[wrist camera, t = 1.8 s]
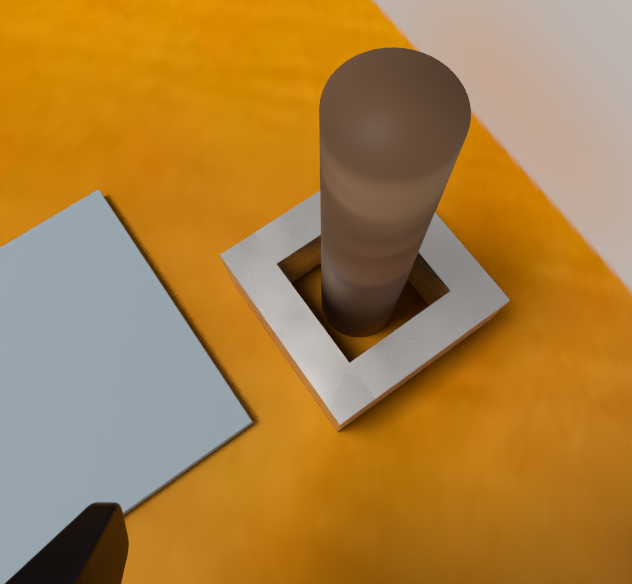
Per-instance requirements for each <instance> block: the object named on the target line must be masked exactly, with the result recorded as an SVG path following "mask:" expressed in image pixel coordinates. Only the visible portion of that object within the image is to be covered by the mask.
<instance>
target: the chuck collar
mask: <svg viewBox="0 0 632 584" xmlns="http://www.w3.org/2000/svg"><path fill="white" fill-rule="evenodd" d="M220 256H221V258H222V261H223V263H224V265H225V267H226V269H227V272H228V274H229V276H230V278H231V280H232V282H233V284H234V285H235V286H236V288H237V289H238V291H239V292H240V294H241V295H242V296H243V298H244V299H245V301H246V302H247V303H248V305H249V306H250V308H251V309H252V311H253V312H254V313H255V315H256V316H257V318H258V319H259V321H260V322H261V323H262V325H263V326H264V328H265V329H266V330H267V332H268V333H269V335H270V336H271V338H272V339H273V340H274V342H275V343H276V345H277V346H278V348H279V349H280V350H281V352H282V353H283V355H284V356H285V358H286V359H287V360H288V362H289V363H290V365H291V366H292V367H293V369H294V370H295V372H296V373H297V375H298V376H299V377H300V379H301V380H302V382H303V383H304V385H305V386H306V387H307V389H308V390H309V392H310V393H311V394H312V396H313V397H314V399H315V400H316V402H317V403H318V404H319V406H320V407H321V409H322V410H323V412H324V413H325V414H326V416H327V417H328V419H329V420H330V422H331V423H332V424H333V426H334V427H335V429H336V430H337V431H338V432H339V431H340V430H341V429H343V428H344V427H345V426H347V425H348V424H349V423H351V422H352V421H353V420H355V419H356V418H358V417H359V416H360V415H362V414H363V413H364V412H366V411H367V410H368V409H370V408H371V407H373V406H374V405H375V404H377V403H378V402H379V401H381V400H382V399H383V398H385V397H386V396H388V395H389V394H390V393H392V392H393V391H394V390H396V389H397V388H398V387H400V386H401V385H403V384H404V383H405V382H407V381H408V380H409V379H411V378H412V377H413V376H415V375H416V374H418V373H419V372H420V371H422V370H423V369H424V368H426V367H427V366H428V365H430V364H431V363H433V362H434V361H435V360H437V359H438V358H439V357H441V356H442V355H443V354H445V353H446V352H448V351H449V350H450V349H452V348H453V347H454V346H456V345H457V344H458V343H460V342H461V341H463V340H464V339H465V338H467V337H468V336H469V335H471V334H472V333H473V332H475V331H476V330H478V329H479V328H480V327H482V326H483V325H484V324H486V323H487V322H488V321H489V320H490V319H491V318H492V317H493V316H494V315H495V314H497V313H498V312H499V311H500V310H501V309H502V308H503V307H504V306H505V305H506V304H507V303H508V302H509V301H510V299H509V298H508V297H507V296H506V295H505V294H504V292H503V291H502V290H501V289H500V288H499V286H498V285H497V284H496V283H495V282H494V281H493V279H492V278H491V277H490V276H489V275H488V274H487V272H486V271H485V270H484V269H483V268H482V267H481V265H480V264H479V263H478V262H477V261H476V260H475V258H474V257H473V256H472V255H471V254H470V253H469V251H468V250H467V249H466V248H465V247H464V246H463V244H462V243H461V242H460V241H459V240H458V239H457V237H456V236H455V235H454V234H453V233H452V232H451V230H450V229H449V228H448V227H447V226H446V225H445V223H444V222H443V221H442V220H441V219H440V218H439V216H438V215H437V214H436V213H434V216H433V218H432V220H431V223H430V225H429V228H428V230H427V232H426V235H425V237H424V240H423V242H422V245H421V247H420V249H419V252H418V254H417V257H416V259H415V261H414V264H413V266H412V269H411V271H410V274H409V276H408V278H407V279H408V280H409V282H410V283H411V284H412V285H413V287H414V288H415V289H416V290H417V292H418V293H419V294H420V295H421V297H422V298H423V299H424V300H425V302H426V303H427V304H428V305H429V307H427V308H426V309H425V310H423V311H422V312H420V313H419V314H418V315H416V316H415V317H413V318H412V319H411V320H409V321H408V322H406V323H405V324H404V325H402V326H401V327H399V328H398V329H396V330H395V331H394V332H392V333H391V334H389V335H388V336H387V337H385V338H384V339H382V340H381V341H380V342H378V343H377V344H375V345H374V346H373V347H371V348H370V349H368V350H367V351H366V352H364V353H363V354H361V355H360V356H359V357H357V358H356V359H354V360H353V361H352V362H350V363H349V362H348V360H347V359H346V358H345V356H344V355H343V353H342V352H341V351H340V349H339V348H338V347H337V345H336V344H335V343H334V341H333V340H332V338H331V337H330V336H329V334H328V333H327V332H326V330H325V329H324V328H323V326H322V325H321V324H320V322H319V321H318V319H317V318H316V317H315V315H314V314H313V313H312V311H311V310H310V309H309V307H308V306H307V305H306V303H305V302H304V300H303V299H302V298H301V296H300V295H299V294H298V292H297V291H296V290H295V288H294V287H293V286H292V284H291V283H293V282H294V281H296V280H297V279H299V278H300V277H302V276H303V275H304V274H306V273H307V272H309V271H310V270H312V269H313V268H315V267H316V266H318V265H319V264H321V206H320V191H319V192H317V193H316V194H314V195H312V196H311V197H309V198H308V199H306V200H305V201H303V202H302V203H300V204H298V205H297V206H295V207H294V208H292V209H291V210H289V211H288V212H286V213H284V214H283V215H281V216H280V217H278V218H277V219H275V220H274V221H272V222H270V223H269V224H267V225H266V226H264V227H263V228H261V229H260V230H258V231H256V232H255V233H253V234H252V235H250V236H249V237H247V238H246V239H244V240H242V241H241V242H239V243H238V244H236V245H235V246H233V247H232V248H230V249H228V250H227V251H225V252H224V253H222V254H221V255H220Z"/></svg>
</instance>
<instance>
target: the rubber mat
mask: <svg viewBox="0 0 632 584" xmlns="http://www.w3.org/2000/svg"><path fill="white" fill-rule="evenodd" d="M252 424H253V421H252V420H251V418H250V417H249V415H248V414H247V412H246V411H245V409H244V408H243V406H242V405H241V403H240V402H239V400H238V399H237V397H236V396H235V394H234V393H233V391H232V389H231V388H230V386H229V385H228V383H227V382H226V380H225V379H224V377H223V376H222V374H221V373H220V371H219V370H218V368H217V367H216V365H215V364H214V362H213V361H212V359H211V358H210V356H209V355H208V353H207V352H206V350H205V349H204V347H203V346H202V344H201V343H200V341H199V340H198V338H197V337H196V335H195V334H194V332H193V331H192V329H191V328H190V326H189V324H188V323H187V321H186V320H185V318H184V317H183V315H182V314H181V312H180V311H179V309H178V308H177V306H176V305H175V303H174V302H173V300H172V299H171V297H170V296H169V294H168V293H167V291H166V290H165V288H164V287H163V285H162V284H161V282H160V281H159V279H158V278H157V276H156V275H155V273H154V272H153V270H152V269H151V267H150V266H149V264H148V262H147V261H146V259H145V258H144V256H143V255H142V253H141V252H140V250H139V249H138V247H137V246H136V244H135V243H134V241H133V240H132V238H131V237H130V235H129V234H128V232H127V231H126V229H125V228H124V226H123V225H122V223H121V222H120V220H119V219H118V217H117V216H116V214H115V213H114V211H113V210H112V208H111V207H110V205H109V204H108V202H107V201H106V199H105V197H104V196H103V195H102V193H101V192H100V191H99V189H98V190H96V191H95V192H93V193H91V194H90V195H88V196H86V197H85V198H83V199H81V200H80V201H78V202H76V203H75V204H73V205H71V206H70V207H68V208H66V209H65V210H63V211H61V212H60V213H58V214H56V215H54V216H53V217H51V218H49V219H48V220H46V221H44V222H43V223H41V224H39V225H38V226H36V227H34V228H33V229H31V230H29V231H28V232H26V233H24V234H23V235H21V236H19V237H17V238H16V239H14V240H12V241H11V242H9V243H7V244H6V245H4V246H2V247H1V248H0V584H4V583H6V582H7V581H8V580H9V579H10V578H11V577H12V576H13V575H14V574H15V573H16V572H17V571H18V570H20V569H21V568H22V567H23V566H24V565H25V564H26V563H27V562H28V561H29V560H30V559H31V558H32V557H34V556H35V555H36V554H37V553H38V552H39V551H40V550H41V549H42V548H43V547H44V546H45V545H46V544H48V543H49V542H50V541H51V540H52V539H53V538H54V537H55V536H56V535H57V534H58V533H59V532H60V531H62V530H63V529H64V528H65V527H66V526H67V525H68V524H69V523H70V522H71V521H72V520H73V519H74V518H76V517H77V516H78V515H79V514H80V513H81V512H82V511H83V510H84V509H85V508H86V507H87V506H89V505H90V504H92V503H94V502H116V503H119V504H120V506H121V508H122V511H123V515H125V514H126V513H128V512H129V511H130V510H132V509H133V508H135V507H136V506H137V505H139V504H140V503H142V502H143V501H145V500H146V499H147V498H149V497H150V496H152V495H153V494H154V493H156V492H157V491H159V490H160V489H161V488H163V487H164V486H166V485H167V484H169V483H170V482H171V481H173V480H174V479H176V478H177V477H178V476H180V475H181V474H183V473H184V472H185V471H187V470H188V469H190V468H191V467H192V466H194V465H195V464H197V463H198V462H200V461H201V460H202V459H204V458H205V457H207V456H208V455H209V454H211V453H212V452H214V451H215V450H216V449H218V448H219V447H221V446H222V445H224V444H225V443H226V442H228V441H229V440H231V439H232V438H233V437H235V436H236V435H238V434H239V433H240V432H242V431H243V430H245V429H246V428H248V427H249V426H250V425H252Z"/></svg>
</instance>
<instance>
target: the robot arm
mask: <svg viewBox="0 0 632 584" xmlns="http://www.w3.org/2000/svg"><path fill="white" fill-rule="evenodd" d="M128 547H129V541H128V535H127V530H126V525H125V521H124V516H123V511H122V508H121V506H120V504H119V503H116V502H94V503H92V504H90V505H89V506H87V507H86V508H85V509H84V510H83V511H82V512H81V513H80V514H79V515H78V516H77V517H76V518H74V519H73V520H72V521H71V522H70V523H69V524H68V525H67V526H66V527H65V528H64V529H63V530H62V531H60V532H59V533H58V534H57V535H56V536H55V537H54V538H53V539H52V540H51V541H50V542H49V543H48V544H46V545H45V546H44V547H43V548H42V549H41V550H40V551H39V552H38V553H37V554H36V555H35V556H34V557H32V558H31V559H30V560H29V561H28V562H27V563H26V564H25V565H24V566H23V567H22V568H21V569H20V570H18V571H17V572H16V573H15V574H14V575H13V576H12V577H11V578H10V579H9V580H8V581H7V582H6V583H4V584H121V581H122V577H123V573H124V568H125V564H126V560H127V555H128Z"/></svg>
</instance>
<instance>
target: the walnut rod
mask: <svg viewBox="0 0 632 584" xmlns="http://www.w3.org/2000/svg"><path fill="white" fill-rule="evenodd" d="M470 120H471V109H470V103H469V99H468V95H467V93H466V91H465V88H464V86H463V85H462V83H461V82H460V80H459V79H458V78H457V76H456V75H455V74H454V73H453V72H452V71H451V70H450V69H449V68H448V67H447V66H445V65H444V64H443V63H441V62H440V61H438V60H437V59H435V58H433V57H431V56H429V55H427V54H424V53H422V52H418V51H415V50H410V49H405V48H381V49H375V50H371V51H367V52H364V53H361V54H359V55H357V56H355V57H353V58H351V59H349V60H348V61H346V62H345V63H343V64H342V65H341V66H340V67H339V68H338V69H337V70H336V71H335V72H334V73H333V74H332V75H331V77H330V78H329V80H328V81H327V83H326V85H325V87H324V89H323V92H322V95H321V99H320V106H319V121H320V206H321V292H322V309H323V313H324V315H325V317H326V319H327V321H328V322H329V323H330V325H331V326H332V327H333V328H335V329H336V330H337V331H339V332H340V333H342V334H345V335H348V336H352V337H366V336H370V335H373V334H375V333H377V332H379V331H380V330H381V329H383V328H384V327H385V326H386V325H387V323H388V322H389V321H390V319H391V317H392V315H393V312H394V310H395V307H396V305H397V303H398V300H399V298H400V295H401V293H402V290H403V288H404V286H405V283H406V281H407V278H408V276H409V274H410V271H411V269H412V266H413V264H414V261H415V259H416V257H417V254H418V252H419V249H420V247H421V245H422V242H423V240H424V237H425V235H426V232H427V230H428V228H429V225H430V223H431V220H432V218H433V216H434V213H435V211H436V208H437V206H438V203H439V201H440V199H441V196H442V194H443V191H444V189H445V186H446V184H447V182H448V179H449V177H450V174H451V172H452V170H453V167H454V165H455V162H456V160H457V157H458V155H459V153H460V150H461V148H462V145H463V143H464V141H465V138H466V136H467V133H468V130H469V126H470Z"/></svg>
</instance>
